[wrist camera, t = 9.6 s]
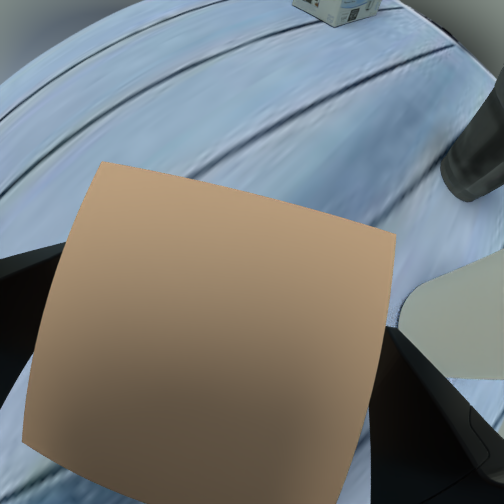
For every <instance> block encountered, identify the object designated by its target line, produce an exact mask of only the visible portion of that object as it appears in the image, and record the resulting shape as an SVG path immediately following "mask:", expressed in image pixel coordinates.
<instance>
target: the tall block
mask: <svg viewBox="0 0 504 504" xmlns="http://www.w3.org/2000/svg"><path fill="white" fill-rule="evenodd" d="M395 244H396V234H393V233H390V232H387V231H384V230H381V229H377V228H374V227H371V226H368V225H364V224H361V223H358V222H355V221H351V220H348V219H344V218H341V217H338V216H334V215H331V214H327V213H324V212H320V211H317V210H313V209H309V208H306V207H302V206H299V205H295V204H291V203H287V202H284V201H280V200H276V199H272V198H268V197H264V196H260V195H257V194H253V193H249V192H244V191H240V190H236V189H232V188H228V187H224V186H219V185H215V184H211V183H207V182H202V181H198V180H193V179H189V178H184V177H179V176H175V175H170V174H165V173H160V172H156V171H151V170H146V169H141V168H135V167H130V166H125V165H120V164H114V163H109V162H103V161H102V162H101V164H100V166H99V168H98V170H97V172H96V174H95V176H94V178H93V180H92V183H91V185H90V187H89V189H88V191H87V193H86V195H85V198H84V200H83V202H82V204H81V207H80V209H79V211H78V214H77V216H76V219H75V221H74V223H73V226H72V228H71V231H70V233H69V236H68V239H67V241H66V244H65V247H64V249H63V252H62V255H61V258H60V260H59V263H58V266H57V269H56V272H55V275H54V278H53V281H52V285H51V288H50V291H49V295H48V298H47V301H46V305H45V309H44V312H43V316H42V320H41V324H40V328H39V332H38V336H37V341H36V345H35V350H34V355H33V360H32V365H31V370H30V376H29V382H28V389H27V396H26V403H25V412H24V422H23V433H22V442H23V443H24V444H26V445H27V446H29V447H31V448H32V449H34V450H35V451H37V452H39V453H40V454H42V455H43V456H45V457H47V458H49V459H50V460H52V461H54V462H55V463H57V464H59V465H61V466H63V467H65V468H66V469H68V470H70V471H72V472H74V473H76V474H78V475H80V476H82V477H84V478H86V479H88V480H90V481H92V482H94V483H97V484H99V485H101V486H103V487H106V488H108V489H110V490H113V491H115V492H117V493H120V494H122V495H125V496H128V497H130V498H133V499H136V500H138V501H141V502H144V503H147V504H336V502H337V500H338V497H339V495H340V492H341V490H342V487H343V484H344V482H345V479H346V476H347V473H348V471H349V468H350V465H351V462H352V459H353V456H354V453H355V450H356V447H357V443H358V440H359V437H360V434H361V430H362V427H363V423H364V420H365V416H366V413H367V409H368V405H369V401H370V397H371V393H372V389H373V385H374V381H375V376H376V372H377V367H378V363H379V358H380V353H381V348H382V342H383V337H384V331H385V325H386V319H387V313H388V306H389V299H390V292H391V284H392V275H393V266H394V256H395Z"/></svg>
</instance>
